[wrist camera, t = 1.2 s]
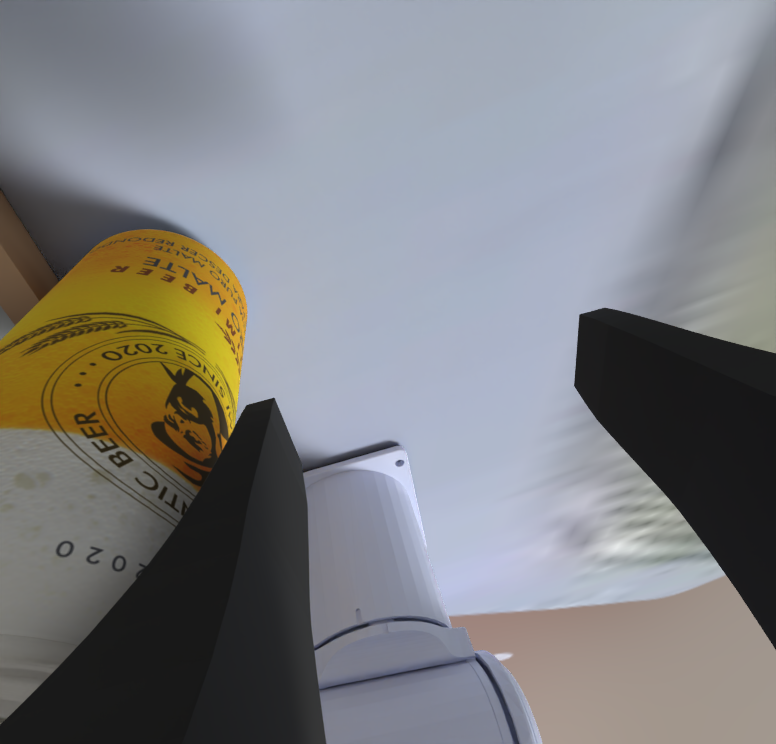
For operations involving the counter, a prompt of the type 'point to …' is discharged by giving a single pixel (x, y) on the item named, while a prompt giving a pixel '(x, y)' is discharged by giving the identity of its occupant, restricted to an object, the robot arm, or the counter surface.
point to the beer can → (107, 435)
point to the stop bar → (20, 266)
